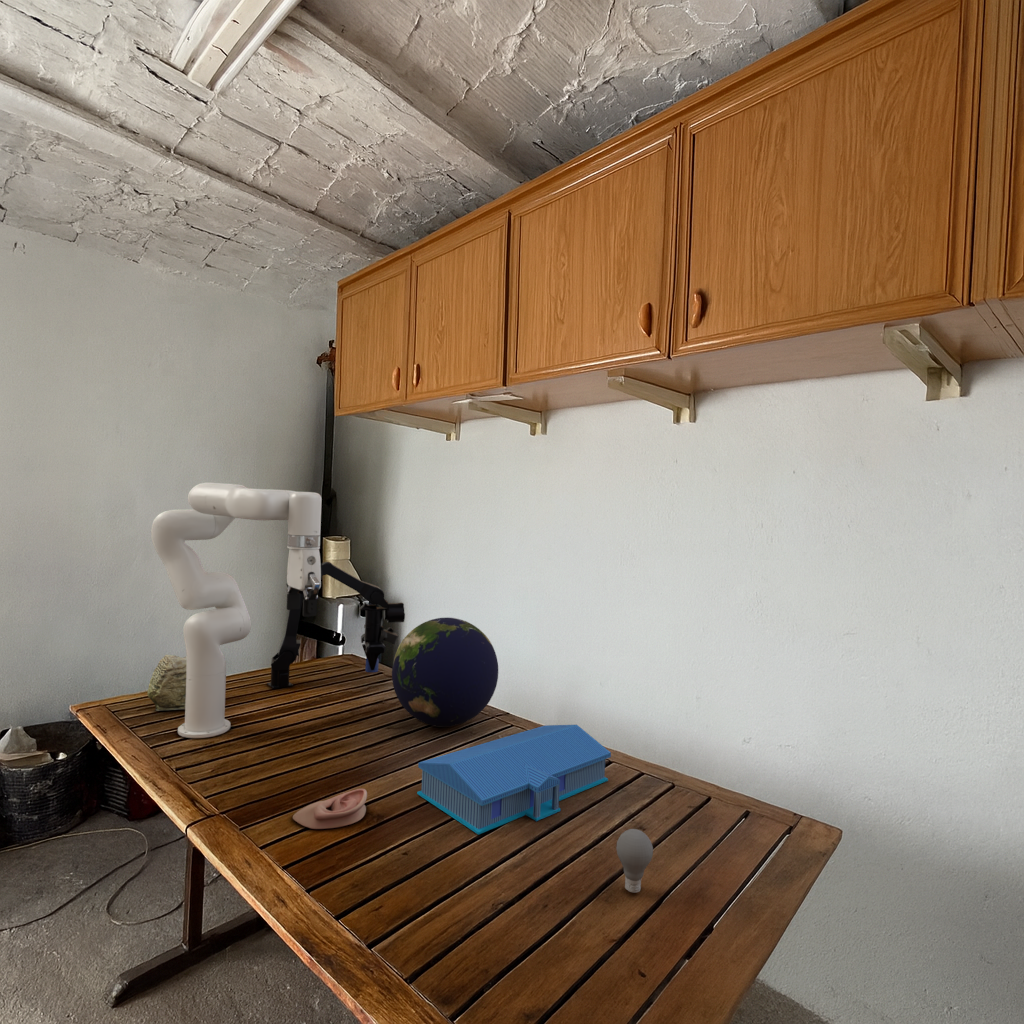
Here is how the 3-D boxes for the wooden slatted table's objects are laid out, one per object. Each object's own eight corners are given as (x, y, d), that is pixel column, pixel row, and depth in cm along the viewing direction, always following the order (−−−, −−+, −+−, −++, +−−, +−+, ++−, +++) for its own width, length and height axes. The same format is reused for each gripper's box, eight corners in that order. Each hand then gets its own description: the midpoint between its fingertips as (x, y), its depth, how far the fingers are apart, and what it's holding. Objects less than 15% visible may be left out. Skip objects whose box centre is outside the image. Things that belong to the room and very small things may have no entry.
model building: (489, 841, 119) (491, 789, 119) (416, 793, 137) (417, 747, 137) (619, 785, 145) (621, 742, 145) (543, 750, 163) (545, 712, 163)
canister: (377, 668, 221) (378, 657, 221) (378, 672, 217) (379, 660, 217) (364, 669, 220) (365, 657, 220) (365, 672, 216) (366, 660, 215)
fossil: (144, 707, 182) (145, 655, 182) (212, 696, 194) (213, 647, 194) (151, 716, 175) (153, 662, 175) (221, 703, 188) (223, 653, 188)
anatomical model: (284, 804, 122) (315, 778, 133) (284, 824, 122) (314, 797, 133) (348, 814, 119) (374, 787, 130) (348, 835, 119) (373, 806, 130)
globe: (368, 731, 171) (372, 620, 171) (424, 700, 199) (427, 605, 198) (467, 752, 160) (472, 634, 160) (512, 716, 188) (516, 616, 187)
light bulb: (610, 879, 108) (613, 822, 108) (644, 879, 109) (647, 822, 109) (619, 902, 102) (622, 840, 102) (655, 901, 103) (658, 840, 103)
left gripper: (334, 545, 150) (331, 617, 150) (304, 539, 163) (301, 606, 163) (303, 545, 145) (300, 620, 145) (275, 540, 158) (272, 608, 158)
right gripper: (401, 627, 212) (399, 674, 212) (393, 617, 229) (391, 660, 230) (367, 628, 208) (365, 675, 208) (361, 617, 226) (359, 661, 226)
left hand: (301, 612), depth 154 cm, fingers open, 9 cm apart
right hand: (371, 667), depth 218 cm, fingers closed on canister, 4 cm apart
